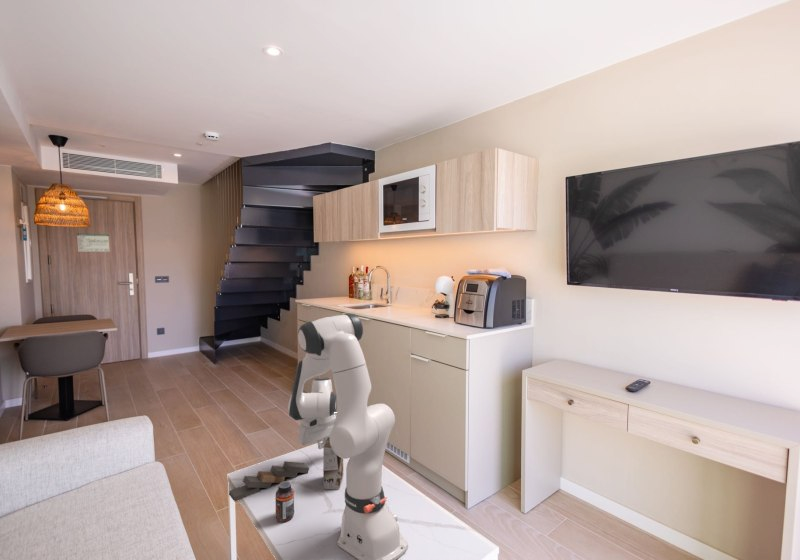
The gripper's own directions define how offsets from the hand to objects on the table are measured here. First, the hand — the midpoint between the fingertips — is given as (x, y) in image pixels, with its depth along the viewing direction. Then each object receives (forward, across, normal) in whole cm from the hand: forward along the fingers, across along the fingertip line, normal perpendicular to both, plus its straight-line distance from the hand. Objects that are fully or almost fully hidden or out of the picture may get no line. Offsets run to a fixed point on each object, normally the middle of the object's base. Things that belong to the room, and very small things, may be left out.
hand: (322, 447), depth 165 cm
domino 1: (+6, +28, 0) cm, 28 cm away
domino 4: (+6, +13, 0) cm, 14 cm away
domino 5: (+6, +8, 0) cm, 10 cm away
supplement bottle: (+7, +27, +22) cm, 35 cm away
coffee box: (+7, +4, +15) cm, 17 cm away
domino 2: (+6, +23, 0) cm, 24 cm away
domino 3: (+6, +18, 0) cm, 19 cm away
